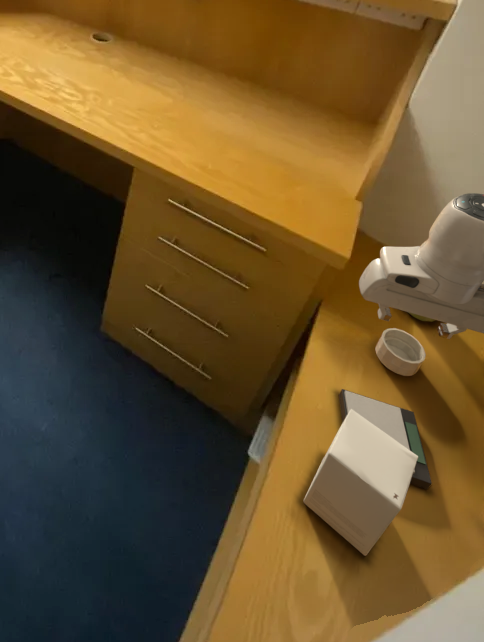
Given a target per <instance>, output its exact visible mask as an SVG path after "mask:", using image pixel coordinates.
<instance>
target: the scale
mask: <svg viewBox="0 0 484 642" xmlns="http://www.w3.org/2000/svg"><path fill="white" fill-rule="evenodd" d="M338 401H339V406H340V407H339V408H340V413H341V421H342V423H343V421H344V420H345V418H346V416H347V414H348V413H349V411H350V410H351V409H352V410H354V411H355V412H357V413H358V414H359V415H361V416H362V417H364V418H365V419H366V420H368V421H369V422H371V423H372V424H373V425H375V426H376V427H378V428H379V429H380V430H382V431H383V432H385V433H386V434H387V435H389V436H390V437H392V438H393V439H394V440H396V441H397V442H399V443H400V444H401V445H403V446H404V447H406V448H407V449H408V450H410V451H411V452H413V453H414V454H416V455H417V456H418V459H417V462H416V465H415V468H414V472H413V475H412V478H411V481H410V485H414V486H415V487H418V488H421V489H424V490H429V488H430V487H431V486H432V484H433V483H432V479H431V474H430V471H429V466H428V463H427V459H426V455H425V450H424V446H423V444H422V439H421V434H420V431H419V427H418V424H417V419H416V416H415V412H414V411H412V410H409V409H405V408H403V407H401V406H400V407H399V406H397V405H393V404H390V403H388V402H385V401H381V400H378V399H375V398H372V397H369V396H366V395H362V394H359V393H356V392H353V391H350V390H347V389H344V388H341V390H340V391H339V393H338Z"/></svg>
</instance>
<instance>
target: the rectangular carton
mask: <svg viewBox="0 0 484 642" xmlns="http://www.w3.org/2000/svg"><path fill="white" fill-rule="evenodd" d="M417 459H418V456H417V455H416V454H414V453H413V452H411V451H410V450H408V449H407V448H406V447H404V446H403V445H401V444H400V443H399V442H397V441H396V440H394V439H393V438H392V437H390V436H389V435H387V434H386V433H385V432H383V431H382V430H380V429H379V428H378V427H376V426H375V425H373V424H372V423H371V422H369V421H368V420H366V419H365V418H364V417H362V416H361V415H359V414H358V413H357V412H355V411H354V410H352V409H351V410H350V411H349V413H348V414H347V416H346V418H345V420H344V421H343V422H342V423H341V425H340V427H339V428H338V430H337V432H336V434H335V436H334V438H333V439H332V441H331V443H330V446H329V447H328V449H327V451H326V453H325V455H324V456H323V458H322V460H321V461H320V462H321V463H320V465H319V467H318V469H317V470H316V473H315V474H314V477H313V479H312V481H311V483H310V485H309V488H308V490H307V492H306V494H305V496H304V498H303V504H304V505H306V506H307V507H308V508H309V509H310V510H311V511H312V512H313V513H314V514H316V515H317V516H318V517H320V519H321V520H323V521H324V522H325V523H326V524H327V525H328V526H330V527H331V528H332V529H333V530H334V531H335V532H336V533H338V534H339V535H340V536H341V537H342V538H344V539H345V540H346V541H347V543H349V544H350V545H352V546H353V547H354V548H355V549H356V550H357V551H358V552H359V553H361V554H362V555H363V556H365V557H366V556H367V555H368V554H369V553H370V551H371V550H372V549H373V548H374V546H375V545H376V543H377V542H378V541H379V539H381V537H382V535H383V533H385V531H386V530H387V529H388V527H389V526H390V525H391V523H392V522H393V521H394V519H395V518H396V517H397V515H398V514H399V513H400V511H402V508H403V506H404V503H405V500H406V497H407V494H408V490H409V487H410V485H411V484H410V481H411V478H412V475H413V472H414V468H415V465H416V462H417Z"/></svg>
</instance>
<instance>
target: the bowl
mask: <svg viewBox="0 0 484 642" xmlns="http://www.w3.org/2000/svg"><path fill="white" fill-rule="evenodd" d="M374 349H375V353H376V356H377V358H378V359H379V361H380V363H381V364H382V365H384V366H385V367H386V368H387V369H388V370H389V371H391V372H393V373H394V374H397V375H400V376H403V377H412V376H414V375H415V374H417V372H418V371H419V370H420V368H421V366H422V365H423V363H424V362H425V359H426V355H427V354H426V351H425V348H424V346H423V345H422V344H421V342H420V341H419V340H418V339H417V338H416V337H415V336H413V334H410V333H408V332H407V331H405V330H403V329H401V328H396V327H393V328H391V327H390V328H386V329H385V330H383V332H382V333H381V335H380V337H379V339H378V341H377V343H376V345H375V348H374Z"/></svg>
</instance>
